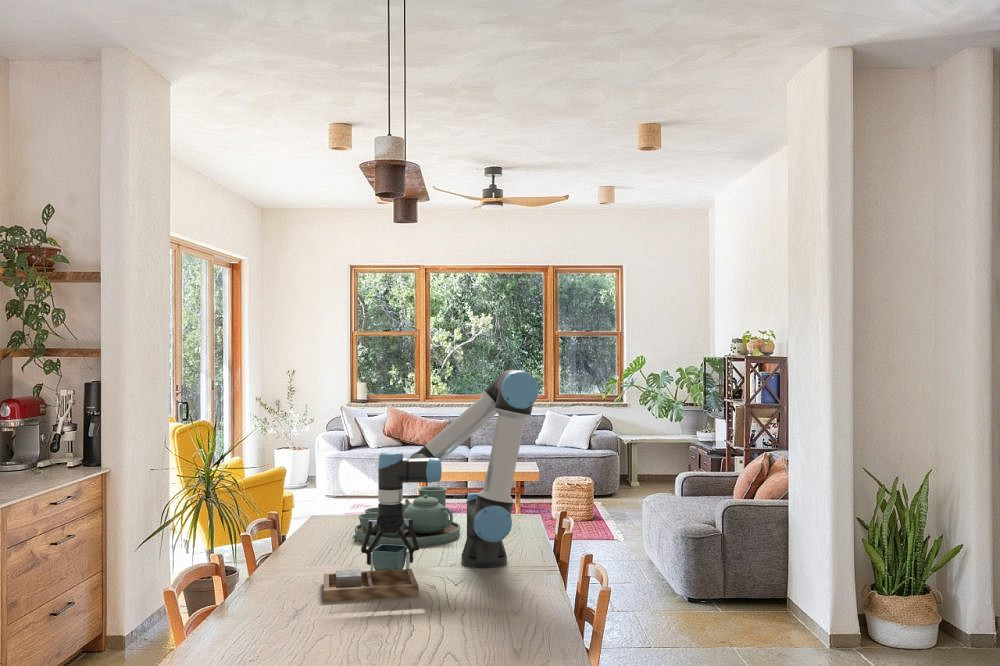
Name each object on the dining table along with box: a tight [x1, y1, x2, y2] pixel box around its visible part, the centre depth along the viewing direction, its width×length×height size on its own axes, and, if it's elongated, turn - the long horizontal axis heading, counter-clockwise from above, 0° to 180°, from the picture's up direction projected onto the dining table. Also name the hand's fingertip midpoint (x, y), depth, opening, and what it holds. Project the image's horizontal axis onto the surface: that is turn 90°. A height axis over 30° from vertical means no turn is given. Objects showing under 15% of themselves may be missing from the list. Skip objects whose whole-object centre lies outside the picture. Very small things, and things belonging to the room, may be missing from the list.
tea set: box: [354, 485, 461, 548], centre depth 314 cm, size 40×40×16 cm
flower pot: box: [372, 544, 408, 571], centre depth 256 cm, size 9×9×9 cm
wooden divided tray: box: [322, 568, 419, 603], centre depth 238 cm, size 26×18×4 cm
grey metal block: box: [335, 569, 362, 588], centre depth 237 cm, size 7×7×5 cm
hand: (389, 574), depth 256 cm, fingers closed on flower pot, 10 cm apart
